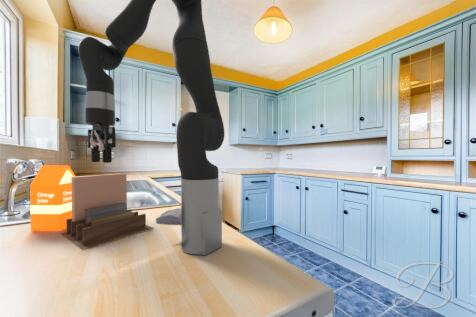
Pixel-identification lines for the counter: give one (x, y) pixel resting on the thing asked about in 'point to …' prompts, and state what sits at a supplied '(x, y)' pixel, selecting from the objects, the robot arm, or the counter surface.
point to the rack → (104, 230)
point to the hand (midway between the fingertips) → (101, 162)
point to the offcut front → (111, 218)
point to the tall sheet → (96, 192)
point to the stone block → (170, 217)
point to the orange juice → (51, 198)
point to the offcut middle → (104, 211)
